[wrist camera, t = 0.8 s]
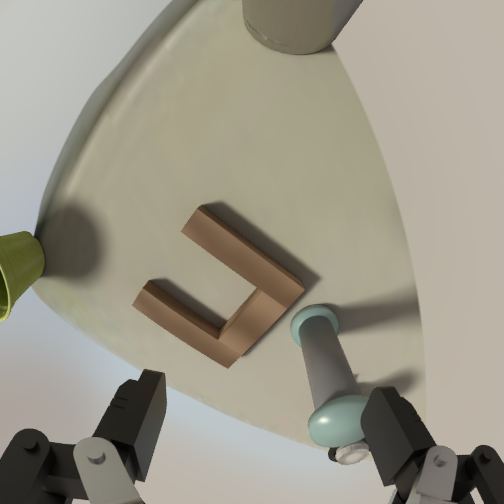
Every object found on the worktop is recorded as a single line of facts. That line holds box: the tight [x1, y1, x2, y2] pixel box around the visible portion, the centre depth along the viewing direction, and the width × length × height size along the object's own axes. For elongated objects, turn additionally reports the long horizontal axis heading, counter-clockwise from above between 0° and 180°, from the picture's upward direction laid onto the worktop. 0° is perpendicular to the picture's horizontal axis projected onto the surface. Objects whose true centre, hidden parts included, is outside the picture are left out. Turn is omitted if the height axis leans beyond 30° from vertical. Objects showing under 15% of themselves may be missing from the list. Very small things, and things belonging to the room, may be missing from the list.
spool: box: [291, 305, 369, 447], centre depth 23 cm, size 5×5×14 cm
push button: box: [328, 437, 370, 465], centre depth 28 cm, size 7×5×10 cm
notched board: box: [132, 205, 305, 369], centre depth 27 cm, size 12×12×2 cm
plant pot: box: [0, 231, 45, 321], centre depth 23 cm, size 9×9×9 cm
